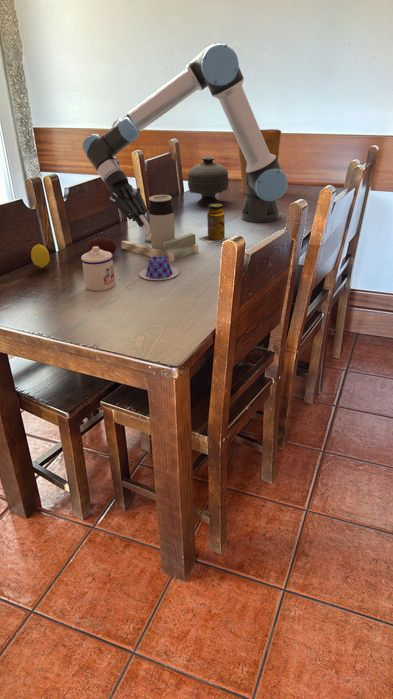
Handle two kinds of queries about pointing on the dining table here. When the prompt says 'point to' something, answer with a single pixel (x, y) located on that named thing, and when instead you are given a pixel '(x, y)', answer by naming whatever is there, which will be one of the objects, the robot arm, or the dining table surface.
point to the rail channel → (166, 247)
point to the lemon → (40, 255)
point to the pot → (208, 180)
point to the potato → (102, 244)
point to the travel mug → (161, 220)
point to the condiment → (215, 224)
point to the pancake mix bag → (272, 144)
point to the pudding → (158, 269)
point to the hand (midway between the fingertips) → (149, 232)
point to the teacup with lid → (98, 269)
